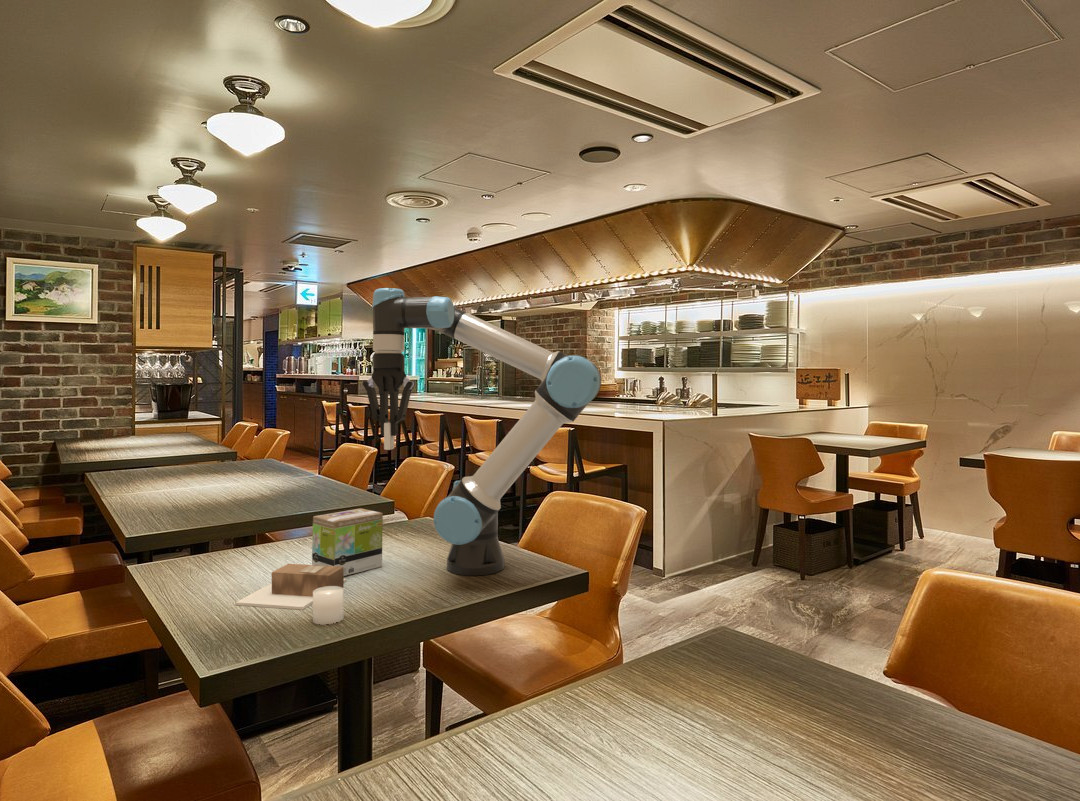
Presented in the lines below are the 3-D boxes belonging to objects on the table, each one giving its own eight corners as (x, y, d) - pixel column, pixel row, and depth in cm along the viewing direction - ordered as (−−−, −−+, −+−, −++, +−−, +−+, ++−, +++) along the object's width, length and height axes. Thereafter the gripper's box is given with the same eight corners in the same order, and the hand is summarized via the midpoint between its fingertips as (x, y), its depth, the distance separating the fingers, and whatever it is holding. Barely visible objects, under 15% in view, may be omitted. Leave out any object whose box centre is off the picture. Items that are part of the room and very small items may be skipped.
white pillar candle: (348, 615, 136) (348, 586, 136) (334, 625, 130) (334, 596, 130) (322, 613, 137) (322, 585, 137) (307, 623, 131) (307, 594, 131)
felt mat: (346, 581, 159) (346, 578, 159) (303, 609, 139) (302, 607, 139) (286, 577, 162) (286, 575, 162) (235, 605, 142) (235, 602, 142)
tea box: (335, 580, 159) (334, 521, 159) (311, 573, 166) (310, 515, 165) (383, 566, 171) (383, 511, 171) (359, 560, 177) (359, 506, 177)
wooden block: (343, 566, 152) (288, 563, 154) (328, 574, 145) (271, 571, 147) (343, 587, 152) (288, 584, 154) (329, 597, 145) (271, 594, 148)
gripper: (419, 353, 161) (420, 448, 162) (370, 353, 163) (370, 447, 164) (408, 352, 153) (408, 451, 154) (356, 352, 156) (357, 450, 156)
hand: (389, 449), depth 159 cm, fingers closed
